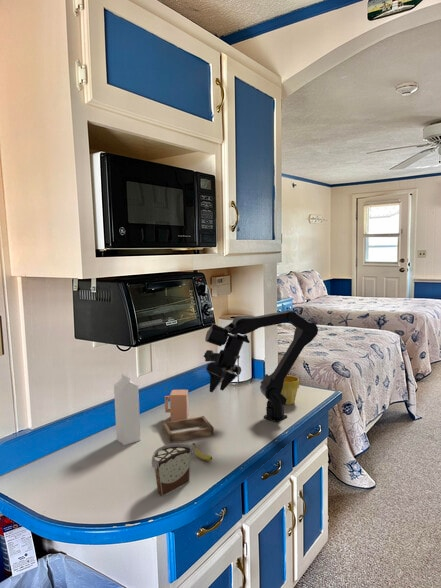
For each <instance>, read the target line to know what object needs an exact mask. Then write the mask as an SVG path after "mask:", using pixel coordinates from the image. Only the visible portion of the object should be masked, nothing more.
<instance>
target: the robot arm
mask: <svg viewBox="0 0 441 588" xmlns="http://www.w3.org/2000/svg"><path fill="white" fill-rule="evenodd" d="M286 323H289V324H290V325H292V326H293V327H295V330H294V333H293V337H292V341H291V343H290V344H289V346H288V348H287V350H286V351H285V353H284V354H283V356H282V358H281V360H279V363H278V365H277V366H276V368H275V369H274V370H273V372H272V373H271V374H270V375H269V374H268V373H265V375H264V377H263V379H262V380H261V381H260V385H259V389H260V392H261V394H262V395H263V396H264V397H265V399H267V402H266V407H265V408H266V409H265V411H266V414H265V415H263V418H265V419H267V420H270V421H274V422H276V423H277V422H280V421H282V420H284V419H286V418H288V415H287V414H285V406H286V405H285V403H286V400H287V399H286V398H285V397H284V396H283V395H282V394H281V392H282V389H283V384H284V379H285V378H286V376H287V375H288V374H289V372H290V370H291V369H292V368H293V366H294V365H295V362H296V361H297V360H298V358H299V356H300V355H301V353H302V351H303V349H304V348H305V347H306V346H308V344H310V343H312V341H313V340H314V339H315V338H316V337H317V335H318V333H319V329H318V328H319V327H318V326H317V324H316V323H314V322H311V321H309V320H307V319H304V318H303V317H302V316H300V315H299V314H297V313H296V312H295V311H294V310H290V309H286V310H284V311H278V312H274V313H268V314H263V315H258V316H255V315H254V316H253V315H237V316H235V317H234V318H233V319H232V321H231V322H230V323H228V324H227V325H226V326H224V327H223V326H220V325H217V324H216V323H212V324H211V326H210V327H209V328H208V330H207V331H206V334H205V343H209V344H212V345H215V346H218V347H222V346H224V347H223V349H220V350H219V352H214V351H213V350H212V349H209V350H208V349H207V350H206V351H205V352H204V355H203V358H204V361H205V362H206V363H207V362H208V364H207V365H206V367H205V370H206V373H208V375H209V378H210V379H209V392H210V393H213V392H214V391H215V390H216V389H217V388H218V386H220V388H219V389H220V391H224V390H225V389H226V388H227V387H228V386H229V385H230V384H231V383H232V382H233V381H234V380H235V379H237V378H238V376H239V375H241V372H242V367H241V366H240V365H238V364H236V362H237V360H239V359H240V358H241V356H240V355H239V354H240V352H241V350H242V347H243V344H244V343H246V344H247V343H248V344H249V343H250V339H249V337H248V335H247V334H250V333H252V332H254V331H256V330H258V329H260V328H264V327H265V328H266V327H270V326H271V327H272V326H275V325H281V324H286Z"/></svg>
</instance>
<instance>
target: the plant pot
mask: <svg viewBox="0 0 441 588" xmlns="http://www.w3.org/2000/svg"><path fill="white" fill-rule="evenodd" d="M299 388H300V379H299V377H298V376H294V375H288V374H287V376H286V378H285V379H284V384H283V389H282V392H281V394H282V395H283V396H284V397H285V398H286V399H287V400H286V403H285V405H284V406H286V405H289V406H290V405H293V404H295V403H296V402H295V401H296V397H297V392H298V389H299Z"/></svg>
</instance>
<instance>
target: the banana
mask: <svg viewBox="0 0 441 588" xmlns="http://www.w3.org/2000/svg"><path fill="white" fill-rule="evenodd" d="M191 446H193V448H194V455H196V457H198V458H199V459H201V460H203V461H205V462H206V461H207V462H211V461H212V460H213V456H212V455H208V454H206V453H203V452H201V450H199V449H198V448H197V446H196V443H195V442H193V443H192V445H191Z"/></svg>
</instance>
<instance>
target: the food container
mask: <svg viewBox="0 0 441 588" xmlns="http://www.w3.org/2000/svg"><path fill="white" fill-rule="evenodd" d="M192 453H193V448H192V445H190V444H188V443H187V444H185V443H170V444H166V445H162V446H160V447H158V448H157V449H156V450H154V452H153V455H152V458H151V466H152V467H153V468H154V473H155V481H156V489H157V493H158V495H159V496H160V497H161V498H163V497H165V496H166V495H169V494H170V493H172V492H174V491H176V490H177V489H180V488H181V487H183V486H185V485H187V484H189V483H190V479H191V478H190V476H191V456H192V455H191V454H192Z"/></svg>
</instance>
